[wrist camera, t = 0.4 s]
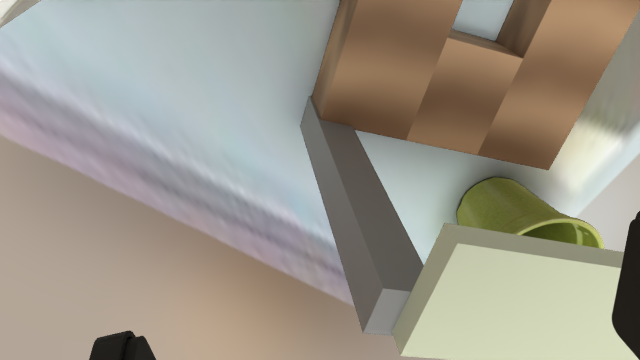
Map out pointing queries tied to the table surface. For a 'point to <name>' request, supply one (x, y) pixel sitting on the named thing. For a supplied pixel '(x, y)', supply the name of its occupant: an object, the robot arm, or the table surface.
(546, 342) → the awning
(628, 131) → the table surface
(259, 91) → the table surface
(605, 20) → the socket block
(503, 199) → the plant pot
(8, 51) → the table surface
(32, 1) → the supplement box
